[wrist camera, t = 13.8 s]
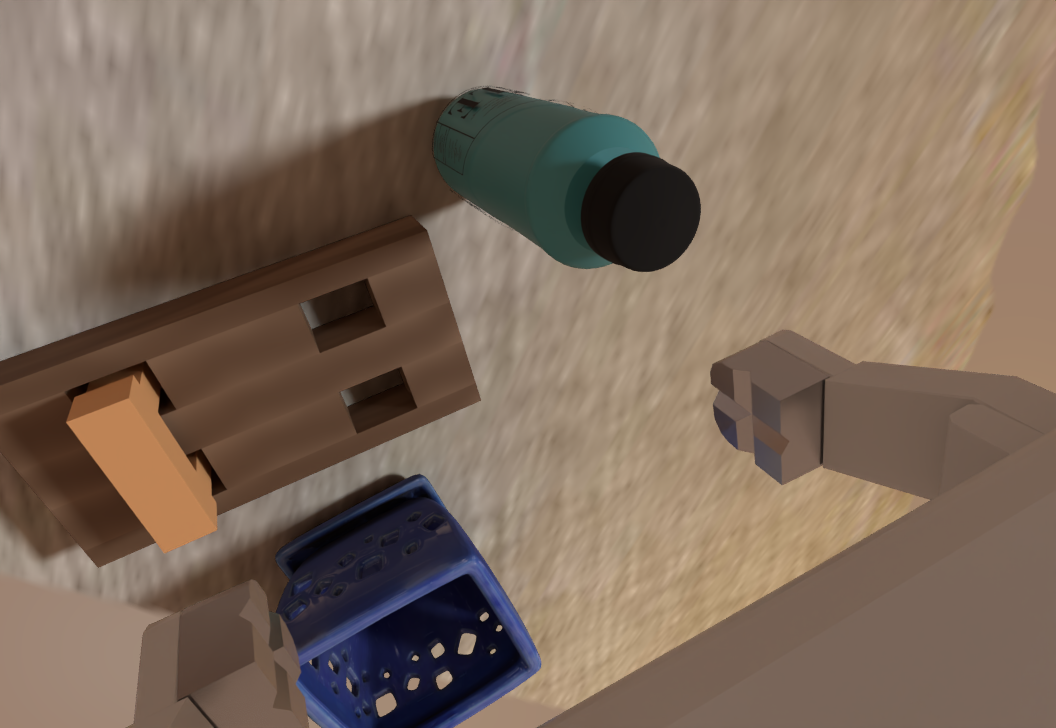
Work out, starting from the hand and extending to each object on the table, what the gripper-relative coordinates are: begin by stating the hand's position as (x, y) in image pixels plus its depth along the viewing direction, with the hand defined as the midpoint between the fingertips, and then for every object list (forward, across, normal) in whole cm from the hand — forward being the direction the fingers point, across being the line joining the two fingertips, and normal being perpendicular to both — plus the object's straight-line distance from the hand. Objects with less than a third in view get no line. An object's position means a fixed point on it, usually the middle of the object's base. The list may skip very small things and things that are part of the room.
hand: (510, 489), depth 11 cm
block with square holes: (+31, +7, +11) cm, 34 cm away
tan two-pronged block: (+31, +13, +11) cm, 35 cm away
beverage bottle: (+31, -10, +2) cm, 33 cm away
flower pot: (+31, +5, +28) cm, 42 cm away
